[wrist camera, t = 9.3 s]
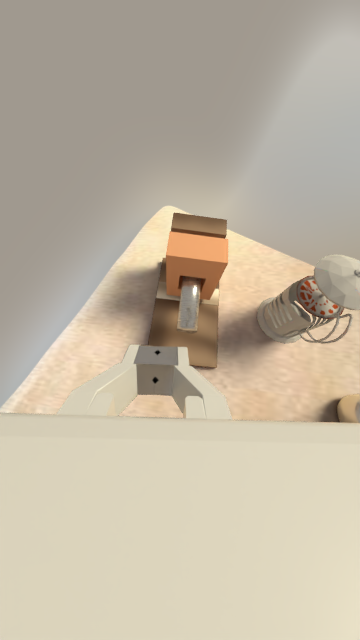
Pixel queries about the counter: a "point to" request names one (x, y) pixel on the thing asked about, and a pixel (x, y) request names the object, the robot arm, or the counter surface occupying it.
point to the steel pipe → (189, 305)
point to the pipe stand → (167, 306)
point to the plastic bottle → (349, 409)
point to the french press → (313, 301)
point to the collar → (195, 262)
